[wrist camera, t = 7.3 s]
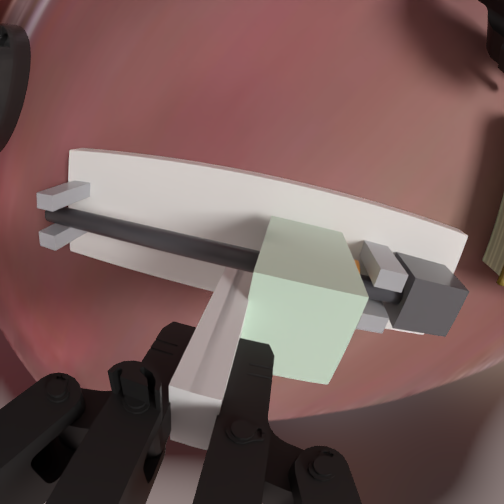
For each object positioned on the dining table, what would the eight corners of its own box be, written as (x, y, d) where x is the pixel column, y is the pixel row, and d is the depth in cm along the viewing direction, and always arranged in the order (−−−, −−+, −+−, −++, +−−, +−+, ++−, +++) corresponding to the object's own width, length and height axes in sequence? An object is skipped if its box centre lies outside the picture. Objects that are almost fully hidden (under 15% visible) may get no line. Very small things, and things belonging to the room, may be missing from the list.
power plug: (441, -54, 7) (580, 31, 3) (451, 12, 14) (556, 100, 9) (395, -44, 9) (552, 48, 5) (412, 29, 16) (524, 126, 11)
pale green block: (256, 285, 18) (233, 365, 11) (271, 215, 16) (253, 271, 10) (320, 299, 18) (328, 384, 11) (342, 232, 16) (368, 297, 9)
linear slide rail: (81, 244, 22) (38, 271, 17) (82, 147, 19) (30, 157, 14) (417, 323, 20) (440, 370, 15) (458, 228, 17) (499, 259, 12)
